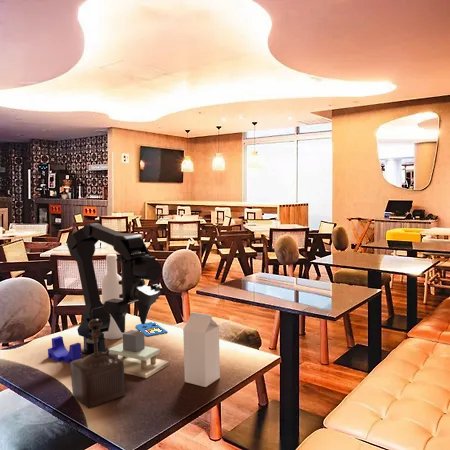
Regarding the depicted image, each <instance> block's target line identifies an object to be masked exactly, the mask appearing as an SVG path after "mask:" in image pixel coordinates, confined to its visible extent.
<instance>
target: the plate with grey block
mask: <svg viewBox="0 0 450 450" xmlns="http://www.w3.org/2000/svg"><path fill="white" fill-rule="evenodd" d="M108 350H109V353H111V354H115V355H120V356H125V357H129V358H134V359H139V360H143V361H146V360H147V359H149V358H151V357H153V356H155V355H156V356H157V355H159V354H160V353H161V351H160V348H156V347H153V346H152V347H151V346H146V345H145V335H144V332H140V331H139V330H133V329H130V330H128V331H126V332H125V333H123V337H122V342H121V343H119V344H116V345H115V346H112V347H110V348H108Z"/></svg>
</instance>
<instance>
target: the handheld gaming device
mask: <svg viewBox="0 0 450 450" xmlns="http://www.w3.org/2000/svg"><path fill="white" fill-rule="evenodd" d="M152 322H154V321H151V322H145V324H141V323H138V324H136V325H135V329H136V330H137V331H141V332H144V337H148V338H149V337H153V336H158V335H159V334H160V335H165V334H167V333H168V330H166V329H165V328H163V327H162V326H161V325H159V324H157V323H156V322H154V323H152ZM156 324H157V325H156ZM154 328H155V329H158V328H159V329H160V330H162V331H161V332H158V331H154V332H155V333H150V331H151V330H154ZM145 330H147V331H148V332H149V333H150V334H149V333H148V332H146V331H145ZM164 333H165V334H164Z"/></svg>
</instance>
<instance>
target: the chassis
mask: <svg viewBox="0 0 450 450" xmlns="http://www.w3.org/2000/svg"><path fill="white" fill-rule="evenodd" d="M113 355H115V354H113ZM115 357H117V358H118V359H120V360H122V361H123V363H124V374H126V375H130V376H135V377H139V378H144V379H148V378H149V377H151V376H152V375H154V374H156V373H158V372H159V371H162V369H165V368H166V367H168V366H170V361H168V360H164V359H159V358H157V355H155V356H153V357H151V358H149V359H147V360H146V361H143V360H139V359H134V358H129V357H125V356H120V355H115Z"/></svg>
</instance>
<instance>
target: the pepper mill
mask: <svg viewBox="0 0 450 450" xmlns="http://www.w3.org/2000/svg"><path fill="white" fill-rule="evenodd" d="M88 325H89V328H90V329H91V330H92V335H91V336H92V337H90V338H88V339H86V342H87V343H94V353H92V354H90V355H88V354H87V356H84V357H82V358H81V359H78V360H74V361H71V362H70V363H69V365H70V378H71V379H70V380H71V389H72V393H71V394H72V396H73V398H74V399H75V400H77V402H79V404H82V405H83V406H85V407H86V408H87V409H92V408H96V407H99V406H102V405H104V404H107V403H111V402H113V401H115V400H119V399H121V398H124V397H126V392H125V389H126V388H125V373H124V363H123V361H122V360H120V359H118V358H117V357H115V355H113V354H111V353H109V350H106V351H104V352H100V351H98V344H97V342H98V339H97V337H98V336H99V335H101V334H102V333H101V332H100V328H101V326H102V321H101V320H100V319H92V320H91V321H90V322H89V324H88Z"/></svg>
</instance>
